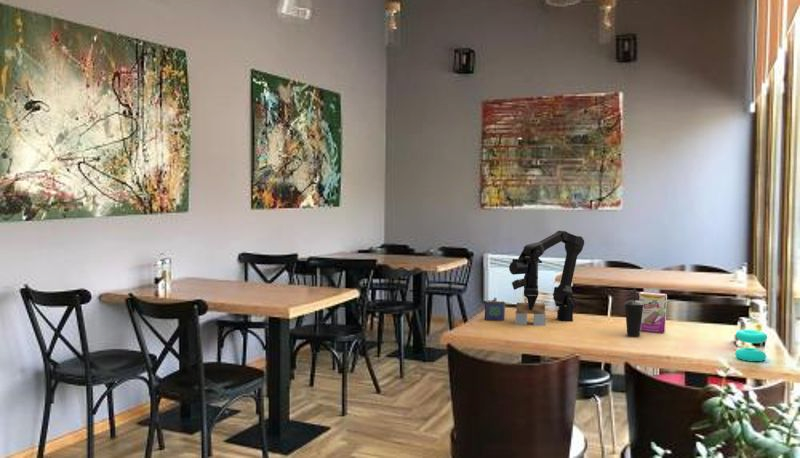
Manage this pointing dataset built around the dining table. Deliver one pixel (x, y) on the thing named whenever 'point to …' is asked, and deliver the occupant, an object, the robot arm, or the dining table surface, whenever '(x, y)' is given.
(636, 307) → the drinking cup
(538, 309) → the lintel
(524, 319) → the tilted pale grey prism
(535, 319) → the pillar
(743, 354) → the teal stacked rounded discs
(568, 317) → the robot arm
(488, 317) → the flask
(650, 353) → the dining table surface
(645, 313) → the candy bar box
